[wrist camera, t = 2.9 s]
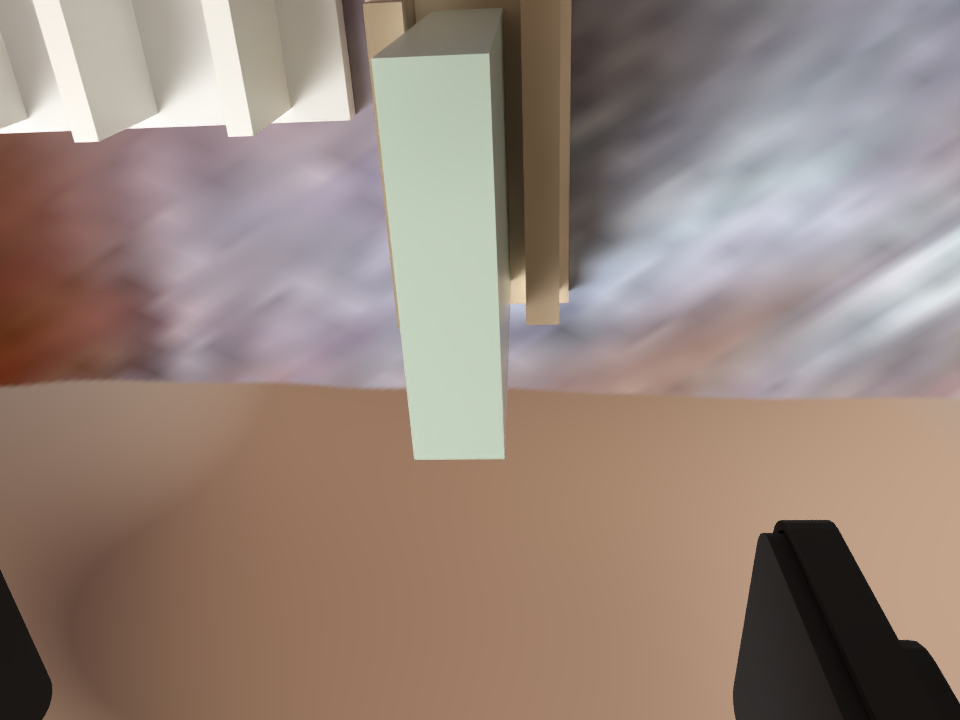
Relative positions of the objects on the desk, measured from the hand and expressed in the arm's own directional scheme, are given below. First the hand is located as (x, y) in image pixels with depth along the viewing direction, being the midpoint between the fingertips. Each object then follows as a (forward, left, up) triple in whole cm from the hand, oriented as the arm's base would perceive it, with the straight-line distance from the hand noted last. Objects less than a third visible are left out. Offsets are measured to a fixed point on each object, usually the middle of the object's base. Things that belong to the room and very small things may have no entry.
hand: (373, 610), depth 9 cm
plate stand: (0, 0, -23) cm, 23 cm away
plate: (0, 0, -22) cm, 22 cm away
